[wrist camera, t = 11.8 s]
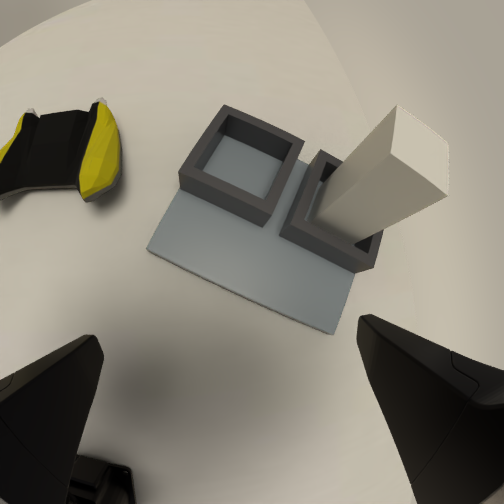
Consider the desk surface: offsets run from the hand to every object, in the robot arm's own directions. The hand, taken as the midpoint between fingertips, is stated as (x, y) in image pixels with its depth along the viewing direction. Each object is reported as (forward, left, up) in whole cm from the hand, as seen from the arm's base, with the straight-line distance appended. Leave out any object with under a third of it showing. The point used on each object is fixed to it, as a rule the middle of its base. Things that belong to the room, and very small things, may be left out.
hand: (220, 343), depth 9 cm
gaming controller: (+12, +16, -13) cm, 24 cm away
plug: (+9, -10, -12) cm, 18 cm away
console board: (+8, -5, -13) cm, 16 cm away
